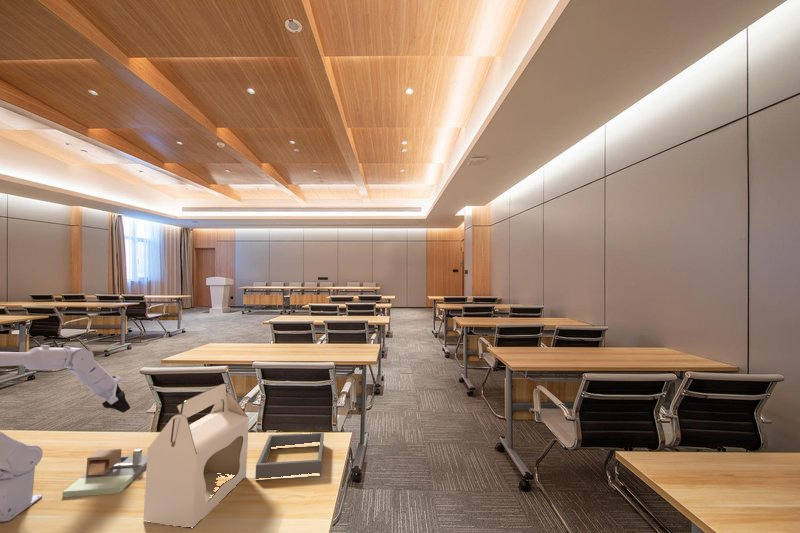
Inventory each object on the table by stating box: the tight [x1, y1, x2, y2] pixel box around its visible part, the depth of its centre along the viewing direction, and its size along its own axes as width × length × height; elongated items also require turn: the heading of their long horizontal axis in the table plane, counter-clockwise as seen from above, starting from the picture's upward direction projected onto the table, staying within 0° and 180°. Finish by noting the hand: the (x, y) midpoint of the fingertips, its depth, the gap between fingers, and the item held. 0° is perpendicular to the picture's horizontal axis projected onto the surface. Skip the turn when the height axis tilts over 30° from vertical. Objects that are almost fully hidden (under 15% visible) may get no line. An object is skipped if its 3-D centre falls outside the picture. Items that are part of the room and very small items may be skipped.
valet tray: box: [255, 431, 325, 479], centre depth 110 cm, size 20×19×4 cm
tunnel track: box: [62, 448, 147, 498], centre depth 100 cm, size 18×13×6 cm
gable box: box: [142, 383, 250, 528], centre depth 92 cm, size 22×13×28 cm, turn 172°
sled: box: [88, 448, 143, 476], centre depth 101 cm, size 8×10×4 cm
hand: (123, 403), depth 110 cm, fingers open, 7 cm apart
